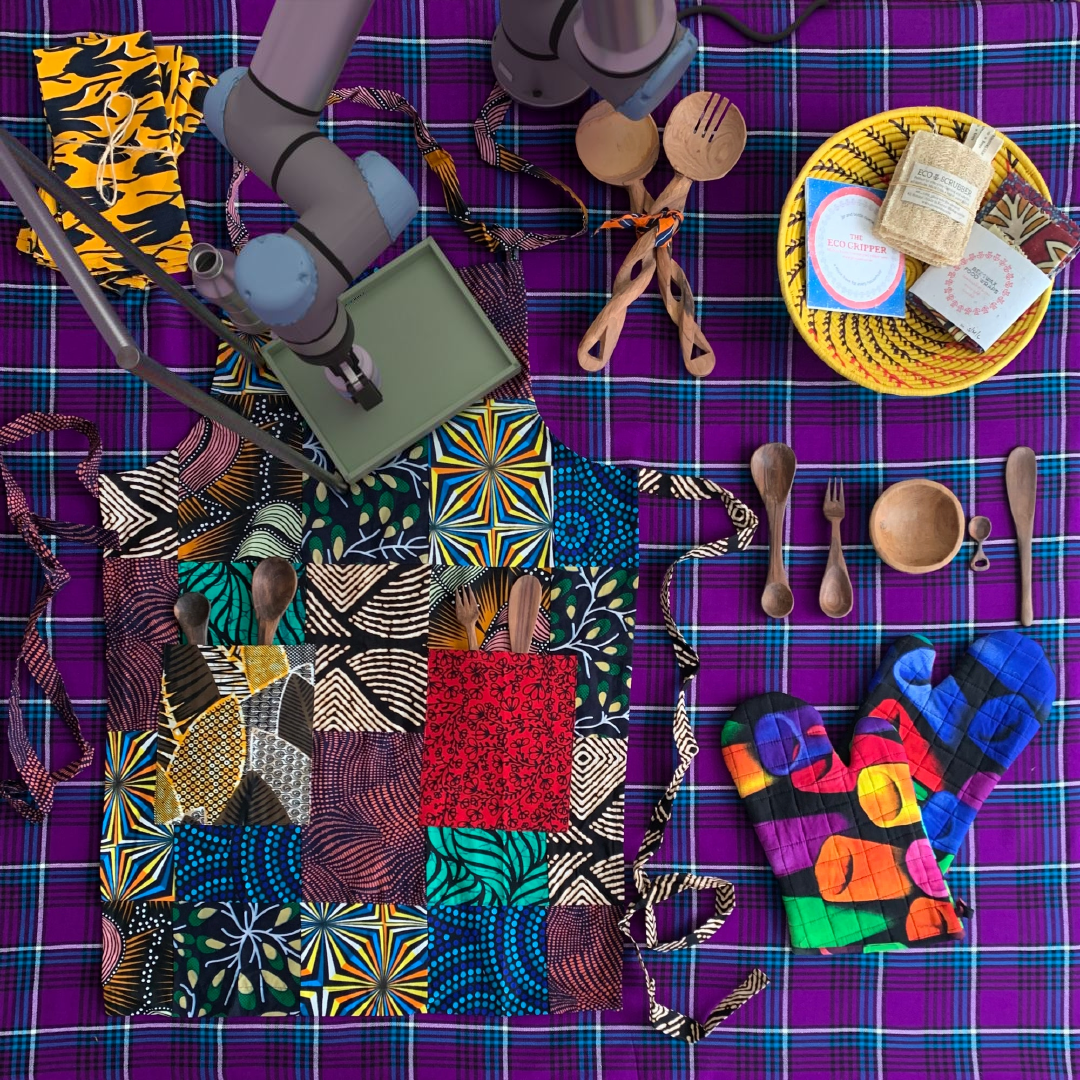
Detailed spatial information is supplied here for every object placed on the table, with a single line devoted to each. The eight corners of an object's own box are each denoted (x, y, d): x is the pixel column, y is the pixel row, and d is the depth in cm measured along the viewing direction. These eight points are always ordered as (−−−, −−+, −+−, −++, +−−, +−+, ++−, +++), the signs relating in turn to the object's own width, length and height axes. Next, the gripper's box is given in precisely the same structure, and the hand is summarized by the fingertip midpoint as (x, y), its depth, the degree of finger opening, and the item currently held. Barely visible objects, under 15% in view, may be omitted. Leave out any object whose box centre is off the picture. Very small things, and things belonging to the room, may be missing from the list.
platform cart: (431, 241, 125) (313, -124, 63) (523, 373, 123) (492, 131, 62) (251, 361, 124) (-49, 108, 62) (340, 496, 122) (123, 373, 61)
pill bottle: (331, 396, 123) (310, 373, 112) (348, 355, 123) (328, 328, 112) (373, 411, 123) (356, 390, 112) (389, 370, 123) (374, 344, 112)
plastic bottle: (285, 293, 125) (233, 232, 105) (278, 341, 124) (226, 289, 104) (238, 289, 125) (178, 226, 105) (232, 337, 124) (170, 283, 104)
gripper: (236, 271, 99) (296, 336, 122) (332, 414, 97) (374, 453, 120) (294, 233, 99) (343, 305, 122) (390, 375, 98) (421, 421, 121)
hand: (358, 378), depth 121 cm, fingers closed on pill bottle, 6 cm apart
